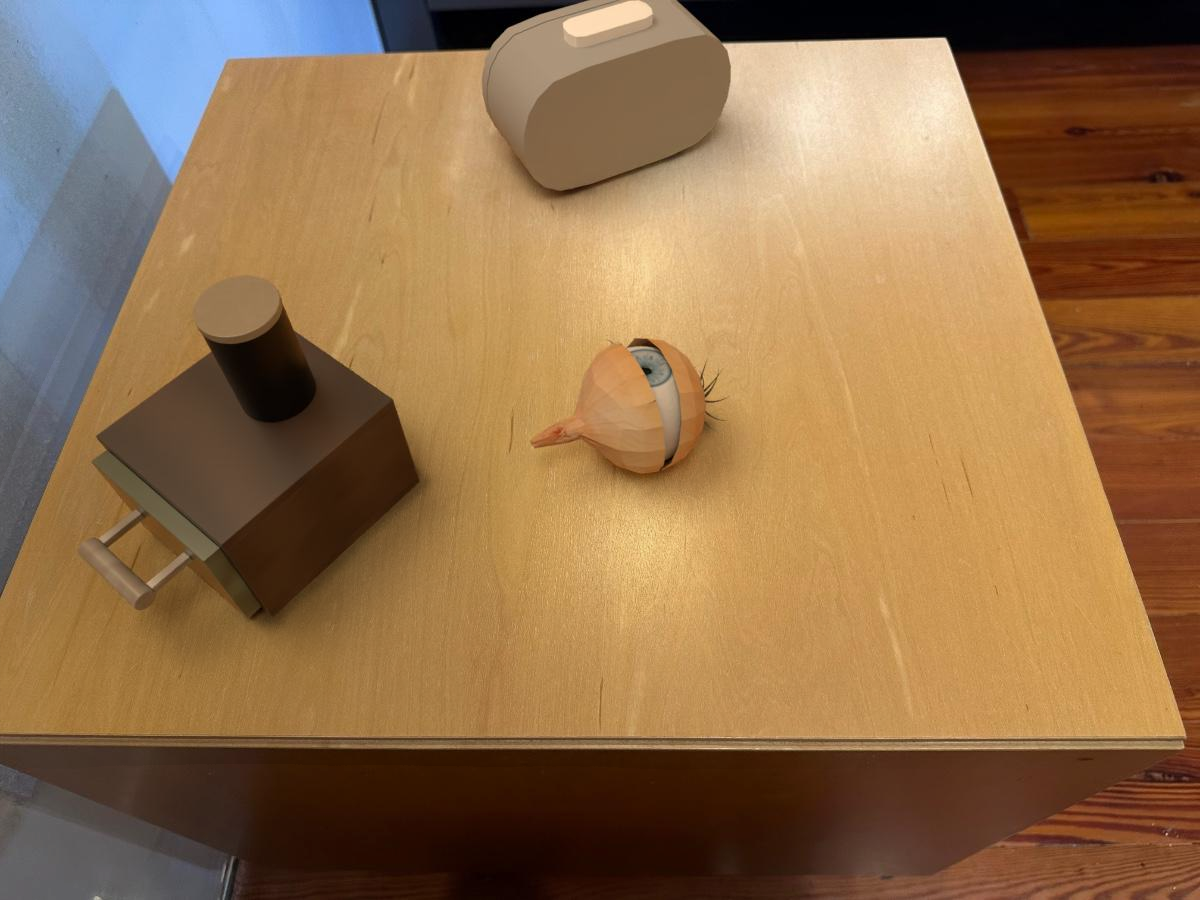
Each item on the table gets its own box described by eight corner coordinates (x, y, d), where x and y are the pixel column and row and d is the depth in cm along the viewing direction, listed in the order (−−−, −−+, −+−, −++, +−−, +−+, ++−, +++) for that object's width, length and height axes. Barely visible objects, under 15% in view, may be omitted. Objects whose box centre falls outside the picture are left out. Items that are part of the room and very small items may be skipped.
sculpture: (773, 378, 61) (567, 411, 55) (739, 480, 67) (549, 520, 61) (706, 303, 67) (513, 325, 61) (680, 403, 73) (502, 432, 67)
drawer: (194, 667, 57) (141, 614, 51) (90, 567, 62) (29, 506, 55) (388, 491, 65) (363, 425, 58) (283, 412, 69) (249, 343, 63)
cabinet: (272, 617, 60) (221, 545, 53) (157, 515, 65) (94, 435, 57) (419, 481, 66) (393, 398, 59) (305, 397, 71) (266, 310, 63)
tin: (254, 435, 57) (207, 349, 51) (229, 383, 60) (181, 295, 53) (328, 402, 58) (291, 315, 52) (301, 353, 61) (263, 263, 54)
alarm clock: (674, 92, 93) (681, -41, 82) (723, 143, 88) (738, 9, 77) (488, 153, 88) (470, 19, 77) (530, 211, 83) (516, 77, 72)
